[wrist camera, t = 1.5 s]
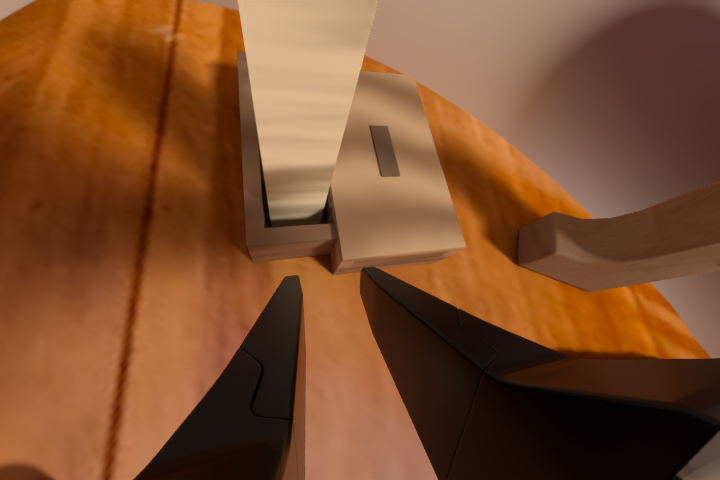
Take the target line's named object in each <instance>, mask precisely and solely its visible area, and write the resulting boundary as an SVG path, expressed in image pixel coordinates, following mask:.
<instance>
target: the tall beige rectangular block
mask: <svg viewBox="0 0 720 480" xmlns="http://www.w3.org/2000/svg"><path fill="white" fill-rule="evenodd" d="M378 1H379V0H238V4H239V11H240V18H241V25H242V31H243V38H244V45H245V52H246V58H247V65H248V72H249V78H250V85H251V92H252V99H253V105H254V112H255V119H256V126H257V132H258V139H259V146H260V152H261V159H262V166H263V173H264V179H265V186H266V193H267V199H268V206H269V213H270V220H271V226H272V228H273V227H287V226H302V225H317V224H320V222H321V218H322V214H323V210H324V207H325V203H326V199H327V195H328V191H329V187H330V184H331V180H332V176H333V172H334V168H335V165H336V161H337V157H338V153H339V149H340V146H341V142H342V138H343V134H344V130H345V127H346V123H347V119H348V115H349V111H350V107H351V104H352V100H353V96H354V92H355V88H356V85H357V81H358V77H359V73H360V69H361V66H362V62H363V58H364V54H365V50H366V46H367V43H368V39H369V35H370V31H371V27H372V24H373V20H374V16H375V12H376V8H377V5H378Z"/></svg>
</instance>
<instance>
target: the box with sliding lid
mask: <svg viewBox="0 0 720 480" xmlns="http://www.w3.org/2000/svg"><path fill="white" fill-rule="evenodd" d="M237 62H238V83H239V104H240V125H241V146H242V167H243V188H244V209H245V231H246V247H247V249H248V251H249V253H250V256H251V258H252V260H253V262H260V261H270V260H280V259H290V258H300V257H310V256H320V255H330V257H331V264H332V271H333V275H336V274H344V273H353V272H361V269H362V268H363V267H371V266H374V267H376V268H378V269H385V268H393V267H402V266H410V265H418V264H426V263H434V262H438V261H440V260H442V259H444V258H446V257H448V256H450V255H451V254H453V253H455V252H457V251H459V250H461V249H463V248H464V247H466V244H465V241H464V238H463V235H462V232H461V228H460V225H459V222H458V219H457V215H456V212H455V209H454V206H453V203H452V199H451V196H450V193H449V190H448V186H447V183H446V180H445V177H444V174H443V170H442V167H441V164H440V161H439V157H438V154H437V151H436V148H435V144H434V141H433V138H432V135H431V132H430V128H429V125H428V122H427V119H426V115H425V112H424V109H423V106H422V103H421V99H420V96H419V93H418V90H417V86H416V83H415V80H414V77H413V76H411V75H401V74H391V73H380V72H370V71H360V73H359V77H358V81H357V85H356V88H355V92H354V96H353V100H352V104H351V107H350V111H349V115H348V119H347V123H346V127H345V130H344V134H343V138H342V142H341V146H340V149H339V153H338V157H337V161H336V165H335V168H334V172H333V176H332V180H331V184H330V187H329V191H328V195H327V199H326V203H325V207H324V210H323V214H322V218H321V222H320V224H317V225H302V226H287V227H273V228H272V226H271V220H270V213H269V206H268V199H267V193H266V186H265V179H264V173H263V166H262V159H261V152H260V146H259V139H258V132H257V126H256V119H255V112H254V105H253V99H252V92H251V85H250V78H249V72H248V65H247V58H246V52H242V51H237Z"/></svg>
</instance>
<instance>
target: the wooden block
mask: <svg viewBox="0 0 720 480" xmlns="http://www.w3.org/2000/svg"><path fill="white" fill-rule="evenodd" d="M517 262H518V265H519V266H522V267H524V268H527V269H529V270H532V271H535V272H537V273H540V274H543V275H545V276H548V277H551V278H553V279H556V280H559V281H561V282H564V283H567V284H569V285H572V286H574V287H577V288H580V289H582V290H585V291H588V292H593V291H599V290H605V289H611V288H617V287H623V286H629V285H635V284H642V283H647V282H653V281H659V280H665V279H671V278H677V277H683V276H689V275H695V274H700V273H707V272H712V271H719V270H720V181H719V182H715V183H713V184H710V185H707V186H705V187H702V188H699V189H697V190H694V191H691V192H689V193H686V194H683V195H681V196H678V197H675V198H673V199H670V200H668V201H665V202H662V203H659V204H657V205H654V206H651V207H649V208H646V209H643V210H641V211H638V212H634V213H630V214H626V215H622V216H618V217H613V218H605V219H580V218H576V217H572V216H569V215H565V214H561V213H557V212H553V213H550V214H548V215H546V216H544V217H542V218H540V219H538V220H536V221H534V222H532V223H530V224H528V225H526V226H524V227H522V228H520V229H519V237H518V261H517Z"/></svg>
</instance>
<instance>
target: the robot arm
mask: <svg viewBox="0 0 720 480" xmlns="http://www.w3.org/2000/svg"><path fill="white" fill-rule="evenodd" d="M360 294H361V298H362V301H363V304H364V307H365V311H366V314H367V317H368V320H369V323H370V327H371V330H372V333H373V335H374V338H375V340H376V342H377V344H378V347H379V349H380V351H381V353H382V356H383V358H384V360H385V362H386V364H387V367H388V369H389V371H390V373H391V376H392V378H393V380H394V382H395V384H396V387H397V389H398V391H399V393H400V396H401V398H402V400H403V402H404V404H405V407H406V409H407V411H408V413H409V416H410V418H411V420H412V422H413V424H414V427H415V429H416V431H417V433H418V436H419V438H420V440H421V442H422V444H423V447H424V449H425V451H426V453H427V456H428V458H429V460H430V462H431V464H432V467H433V469H434V471H435V473H436V476H437V478H438V480H720V358H715V359H613V360H594V359H583V358H577V357H572V356H569V355H565V354H562V353H559V352H557V351H554V350H552V349H549V348H547V347H545V346H542V345H540V344H537V343H535V342H533V341H530V340H528V339H525V338H523V337H521V336H518V335H516V334H514V333H511V332H509V331H506V330H504V329H502V328H499V327H497V326H495V325H492V324H490V323H488V322H486V321H483V320H481V319H479V318H477V317H475V316H473V315H471V314H469V313H467V312H465V311H463V310H461V309H457V308H456V307H455V306H453V305H451V304H449V303H447V302H445V301H443V300H441V299H438V298H436V297H434V296H432V295H430V294H428V293H426V292H424V291H422V290H420V289H418V288H416V287H414V286H412V285H410V284H408V283H406V282H404V281H402V280H400V279H398V278H396V277H394V276H392V275H390V274H388V273H386V272H384V271H382V270H380V269H378V268H376V267H374V266H371V267H363V268H362V269H361V277H360ZM305 386H306V345H305V326H304V307H303V293H302V289H301V284H300V280H299V276H297V275H294V276H286V277H285V278H284V279H283V281H282V282H281V284H280V285H279V287H278V288H277V290H276V291H275V293H274V294H273V296H272V298H271V299H270V301H269V302H268V304H267V305H266V307H265V308H264V310H263V312H262V313H261V315H260V316H259V318H258V319H257V321H256V322H255V324H254V325H253V327H252V329H251V330H250V332H249V333H248V335H247V336H246V338H245V339H244V341H243V342H242V344H241V346H240V348H239V349H238V350H237V351H236V353H235V355H234V356H233V358H232V359H231V361H230V362H229V364H228V365H227V367H226V368H225V369H224V371H223V372H222V374H221V375H220V377H219V378H218V379H217V380H216V382H215V383H214V384H213V386H212V387H211V388H210V389H209V391H208V392H207V393H206V395H205V396H204V397H203V398H202V400H201V401H200V402H199V403H198V404H197V406H196V407H195V408H194V409H193V411H192V412H191V413H190V414H189V415H188V417H187V418H186V419H185V420H184V422H183V423H182V424H181V425H180V426H179V428H178V429H177V430H176V431H175V433H174V434H173V435H172V436H171V437H170V439H169V440H168V441H167V442H166V444H165V445H164V446H163V447H162V448H161V450H160V451H159V452H158V453H157V455H156V456H155V457H154V458H153V459H152V460H151V461H150V463H149V464H148V465H147V466H146V467H145V468H144V469H143V470H142V471H141V472H140V473H139V474H138V475H137V476H136V477H135V478H134V479H133V480H305Z"/></svg>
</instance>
